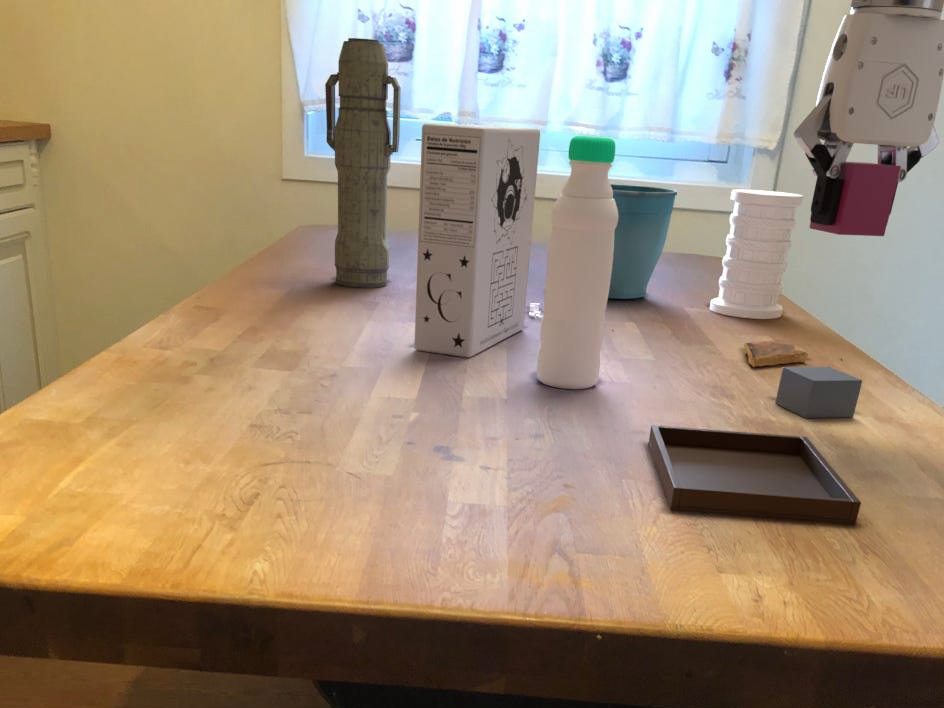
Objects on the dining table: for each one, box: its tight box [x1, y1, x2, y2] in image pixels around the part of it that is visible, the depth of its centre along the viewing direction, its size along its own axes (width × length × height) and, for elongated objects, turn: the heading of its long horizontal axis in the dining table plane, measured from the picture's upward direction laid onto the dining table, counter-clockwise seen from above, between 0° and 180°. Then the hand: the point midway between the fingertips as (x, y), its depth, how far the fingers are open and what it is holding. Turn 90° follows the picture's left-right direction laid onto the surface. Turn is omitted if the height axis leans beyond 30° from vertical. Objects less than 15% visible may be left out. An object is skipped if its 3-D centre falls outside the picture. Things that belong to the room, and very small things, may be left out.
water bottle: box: [536, 135, 618, 390], centre depth 106 cm, size 7×7×25 cm
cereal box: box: [414, 123, 541, 359], centre depth 124 cm, size 22×8×25 cm, turn 159°
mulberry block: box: [808, 160, 901, 237], centre depth 93 cm, size 5×5×6 cm
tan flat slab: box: [743, 339, 809, 368], centre depth 129 cm, size 11×8×2 cm
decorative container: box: [709, 188, 804, 320], centre depth 158 cm, size 12×12×18 cm
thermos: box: [324, 37, 402, 289], centre depth 156 cm, size 9×12×35 cm
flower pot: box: [608, 183, 678, 300], centre depth 166 cm, size 18×18×17 cm
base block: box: [775, 366, 863, 419], centre depth 107 cm, size 6×6×4 cm
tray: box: [647, 424, 862, 526], centre depth 83 cm, size 14×17×2 cm
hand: (848, 222), depth 94 cm, fingers closed on mulberry block, 5 cm apart
